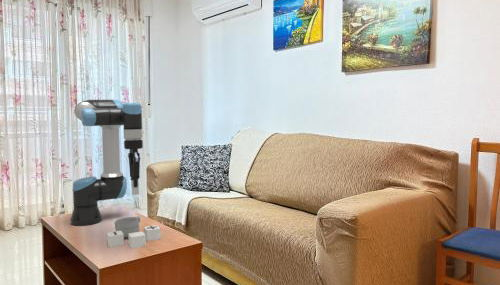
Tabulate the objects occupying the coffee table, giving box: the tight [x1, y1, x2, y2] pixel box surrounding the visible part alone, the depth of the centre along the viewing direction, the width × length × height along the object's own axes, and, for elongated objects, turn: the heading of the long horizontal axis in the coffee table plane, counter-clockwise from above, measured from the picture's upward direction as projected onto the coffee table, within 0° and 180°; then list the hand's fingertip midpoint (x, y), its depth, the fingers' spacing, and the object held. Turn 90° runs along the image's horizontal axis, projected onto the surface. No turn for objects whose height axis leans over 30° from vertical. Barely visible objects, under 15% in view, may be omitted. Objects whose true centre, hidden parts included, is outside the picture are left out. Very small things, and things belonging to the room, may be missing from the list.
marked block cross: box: [143, 224, 162, 242], centre depth 169 cm, size 6×6×5 cm
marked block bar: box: [106, 230, 125, 248], centre depth 162 cm, size 6×6×5 cm
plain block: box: [128, 230, 147, 250], centre depth 160 cm, size 6×6×5 cm
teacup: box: [114, 215, 141, 239], centre depth 174 cm, size 14×11×8 cm
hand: (135, 194), depth 159 cm, fingers closed
